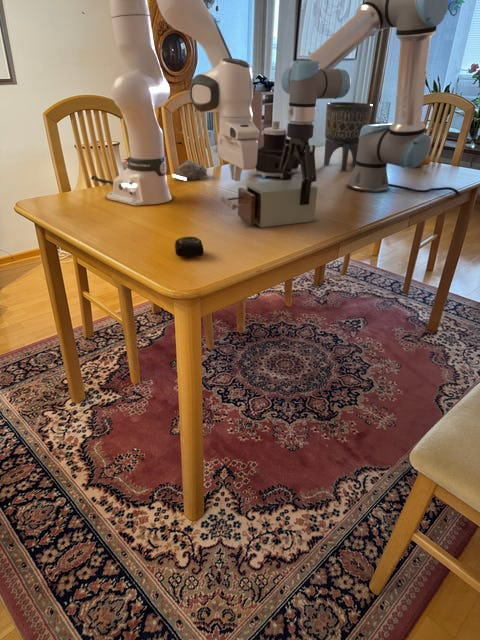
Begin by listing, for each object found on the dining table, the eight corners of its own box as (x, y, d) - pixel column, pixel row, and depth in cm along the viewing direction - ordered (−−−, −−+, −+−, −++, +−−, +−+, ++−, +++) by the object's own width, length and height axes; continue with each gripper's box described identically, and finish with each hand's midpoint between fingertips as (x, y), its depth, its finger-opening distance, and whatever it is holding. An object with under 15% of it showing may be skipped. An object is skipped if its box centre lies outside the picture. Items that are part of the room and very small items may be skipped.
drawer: (231, 227, 131) (232, 197, 126) (219, 217, 138) (219, 189, 134) (301, 218, 139) (304, 190, 134) (286, 210, 146) (288, 183, 142)
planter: (313, 167, 208) (319, 103, 195) (331, 160, 222) (338, 101, 209) (353, 173, 199) (362, 107, 185) (369, 166, 213) (379, 104, 199)
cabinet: (260, 227, 134) (262, 192, 129) (245, 216, 142) (246, 183, 137) (314, 220, 140) (317, 187, 135) (296, 211, 149) (299, 178, 144)
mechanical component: (240, 120, 182) (283, 115, 202) (239, 174, 192) (280, 164, 212) (283, 126, 170) (325, 120, 190) (280, 183, 180) (320, 171, 200)
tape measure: (175, 260, 111) (175, 246, 109) (175, 250, 116) (174, 236, 115) (203, 259, 112) (203, 245, 110) (201, 249, 117) (201, 235, 116)
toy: (405, 159, 210) (400, 152, 223) (408, 173, 213) (402, 165, 226) (431, 151, 207) (424, 145, 219) (433, 165, 210) (426, 158, 222)
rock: (199, 173, 191) (199, 157, 188) (212, 178, 186) (211, 161, 182) (172, 178, 184) (171, 161, 180) (185, 183, 178) (184, 165, 175)
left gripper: (211, 123, 129) (212, 173, 136) (239, 133, 113) (239, 189, 120) (231, 122, 132) (232, 171, 139) (262, 132, 115) (260, 187, 122)
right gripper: (270, 118, 137) (267, 191, 148) (310, 128, 119) (303, 211, 130) (292, 117, 140) (287, 189, 151) (335, 127, 121) (325, 208, 132)
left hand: (235, 180), depth 129 cm, fingers closed
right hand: (294, 199), depth 140 cm, fingers closed on cabinet, 11 cm apart
